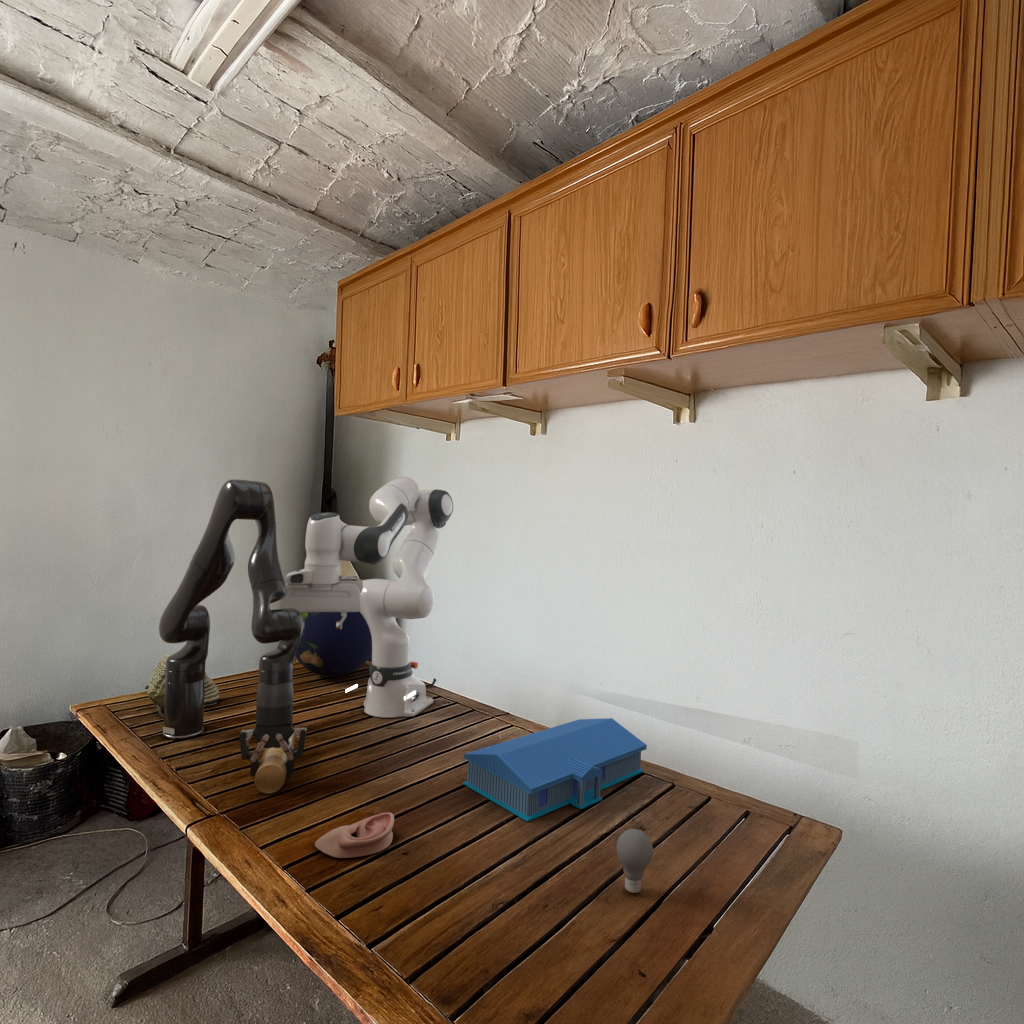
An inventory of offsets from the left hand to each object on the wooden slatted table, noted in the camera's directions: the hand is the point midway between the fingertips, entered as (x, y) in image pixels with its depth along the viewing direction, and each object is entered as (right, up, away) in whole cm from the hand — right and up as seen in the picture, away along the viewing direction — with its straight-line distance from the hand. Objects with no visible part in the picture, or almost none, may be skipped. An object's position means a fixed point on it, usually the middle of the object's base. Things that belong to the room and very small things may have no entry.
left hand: (272, 776), depth 138 cm
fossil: (-44, +1, +47) cm, 64 cm away
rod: (-2, -2, +8) cm, 8 cm away
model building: (+64, -4, +8) cm, 65 cm away
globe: (-10, 0, +84) cm, 85 cm away
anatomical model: (+24, -3, -22) cm, 32 cm away
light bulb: (+73, -6, -33) cm, 80 cm away
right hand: (+3, +28, +25) cm, 37 cm away
